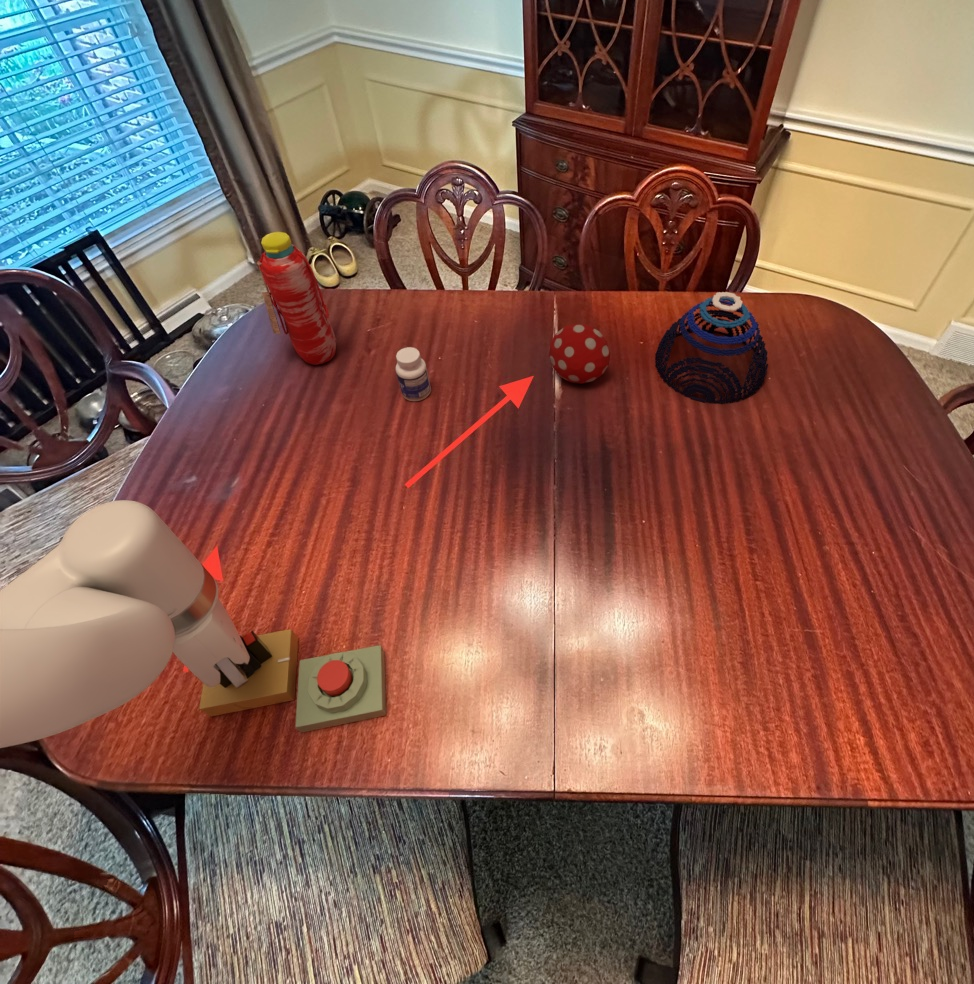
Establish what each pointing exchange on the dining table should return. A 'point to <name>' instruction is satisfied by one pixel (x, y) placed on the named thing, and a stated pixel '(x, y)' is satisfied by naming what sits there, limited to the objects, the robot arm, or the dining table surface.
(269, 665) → the plate
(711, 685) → the dining table surface
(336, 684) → the release button
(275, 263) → the water bottle
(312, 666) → the button block
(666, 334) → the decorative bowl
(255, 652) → the block
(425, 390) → the pill bottle
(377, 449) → the dining table surface
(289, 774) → the dining table surface
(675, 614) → the dining table surface
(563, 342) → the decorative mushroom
